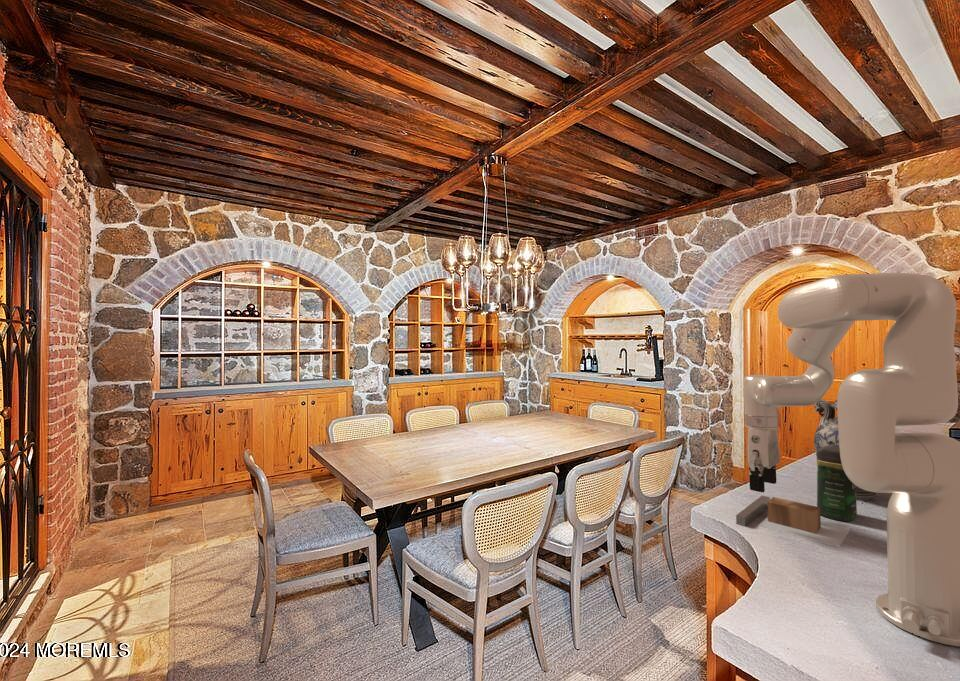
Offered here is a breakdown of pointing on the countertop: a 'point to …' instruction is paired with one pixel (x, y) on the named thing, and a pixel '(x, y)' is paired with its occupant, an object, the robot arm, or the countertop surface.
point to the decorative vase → (833, 437)
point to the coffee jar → (834, 486)
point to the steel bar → (752, 511)
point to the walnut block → (794, 514)
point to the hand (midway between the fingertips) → (763, 486)
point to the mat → (825, 534)
